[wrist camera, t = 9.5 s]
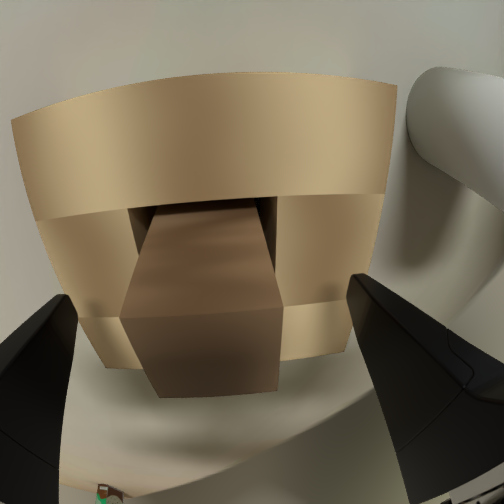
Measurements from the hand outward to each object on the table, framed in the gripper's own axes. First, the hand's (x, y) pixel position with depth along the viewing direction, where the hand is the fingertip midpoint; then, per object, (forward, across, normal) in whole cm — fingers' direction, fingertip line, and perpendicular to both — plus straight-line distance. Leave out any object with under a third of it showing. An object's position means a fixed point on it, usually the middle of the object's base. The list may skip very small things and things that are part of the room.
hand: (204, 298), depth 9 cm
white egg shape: (+6, -12, -5) cm, 14 cm away
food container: (+6, +38, +74) cm, 83 cm away
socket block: (+6, 0, 0) cm, 6 cm away
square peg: (+6, 0, 0) cm, 6 cm away
